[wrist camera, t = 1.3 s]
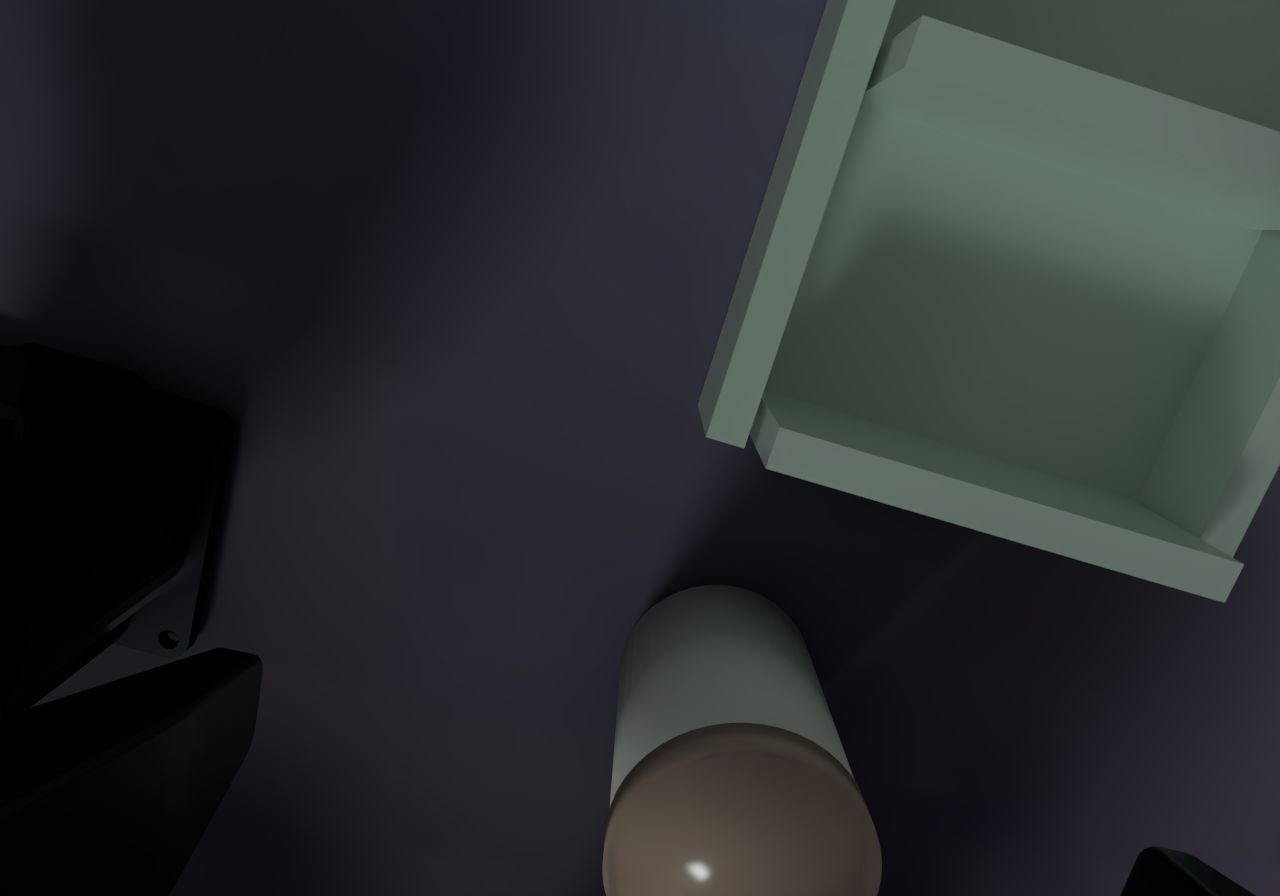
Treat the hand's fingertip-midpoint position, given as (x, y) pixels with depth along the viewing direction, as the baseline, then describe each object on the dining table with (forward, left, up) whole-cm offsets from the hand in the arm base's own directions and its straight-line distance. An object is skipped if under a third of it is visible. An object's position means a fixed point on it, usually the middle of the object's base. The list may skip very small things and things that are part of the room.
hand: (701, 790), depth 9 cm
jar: (-5, -3, -12) cm, 14 cm away
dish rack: (+9, -6, -12) cm, 16 cm away
